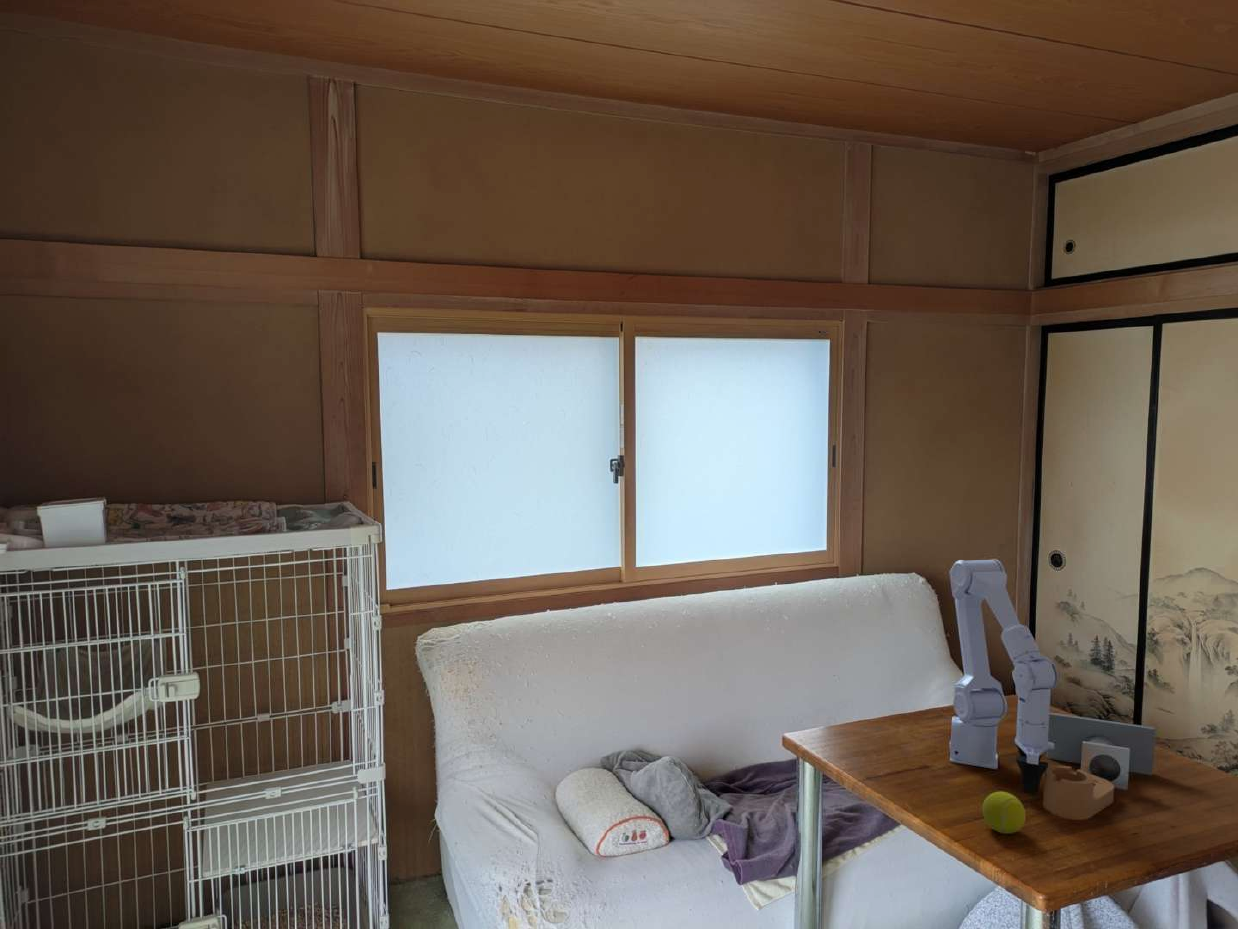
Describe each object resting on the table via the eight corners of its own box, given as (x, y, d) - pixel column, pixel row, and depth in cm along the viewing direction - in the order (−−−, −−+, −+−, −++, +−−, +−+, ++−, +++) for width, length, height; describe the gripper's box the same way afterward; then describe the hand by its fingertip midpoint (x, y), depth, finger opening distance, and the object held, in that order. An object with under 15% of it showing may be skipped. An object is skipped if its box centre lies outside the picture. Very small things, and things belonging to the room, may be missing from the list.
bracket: (1080, 824, 158) (1082, 788, 157) (1035, 807, 164) (1037, 772, 164) (1120, 797, 169) (1122, 763, 168) (1076, 782, 175) (1078, 750, 175)
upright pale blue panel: (1049, 777, 178) (1051, 730, 177) (1046, 756, 189) (1048, 712, 188) (1160, 796, 170) (1163, 747, 169) (1151, 773, 180) (1154, 727, 180)
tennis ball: (1032, 837, 153) (1034, 799, 152) (1002, 843, 150) (1004, 805, 150) (1002, 819, 159) (1004, 783, 159) (973, 825, 157) (975, 788, 156)
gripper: (1057, 735, 161) (1054, 805, 162) (1053, 711, 174) (1050, 775, 175) (1016, 729, 164) (1013, 797, 165) (1015, 705, 177) (1012, 769, 178)
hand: (1029, 785), depth 170 cm, fingers open, 7 cm apart
